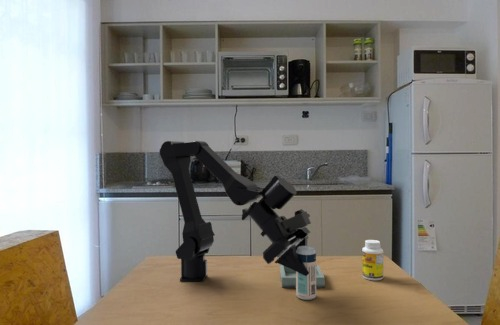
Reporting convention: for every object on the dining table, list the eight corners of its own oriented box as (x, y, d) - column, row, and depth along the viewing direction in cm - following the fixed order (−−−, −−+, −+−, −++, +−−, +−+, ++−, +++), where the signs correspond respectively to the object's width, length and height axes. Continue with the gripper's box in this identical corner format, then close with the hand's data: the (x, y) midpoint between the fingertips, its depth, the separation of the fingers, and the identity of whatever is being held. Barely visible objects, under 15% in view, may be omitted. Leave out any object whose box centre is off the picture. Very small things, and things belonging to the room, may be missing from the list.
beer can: (315, 293, 91) (315, 245, 90) (317, 301, 86) (316, 250, 86) (295, 293, 91) (295, 245, 91) (296, 300, 86) (296, 250, 86)
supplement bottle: (358, 276, 103) (357, 240, 103) (373, 273, 105) (373, 238, 105) (371, 282, 98) (371, 244, 98) (387, 279, 100) (387, 242, 100)
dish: (281, 287, 95) (281, 277, 95) (280, 273, 106) (279, 264, 106) (324, 287, 95) (324, 277, 95) (318, 273, 106) (318, 264, 106)
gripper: (274, 204, 82) (324, 260, 77) (302, 196, 98) (344, 241, 93) (244, 236, 85) (289, 291, 80) (275, 223, 102) (314, 267, 97)
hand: (311, 270), depth 88 cm, fingers open, 6 cm apart
